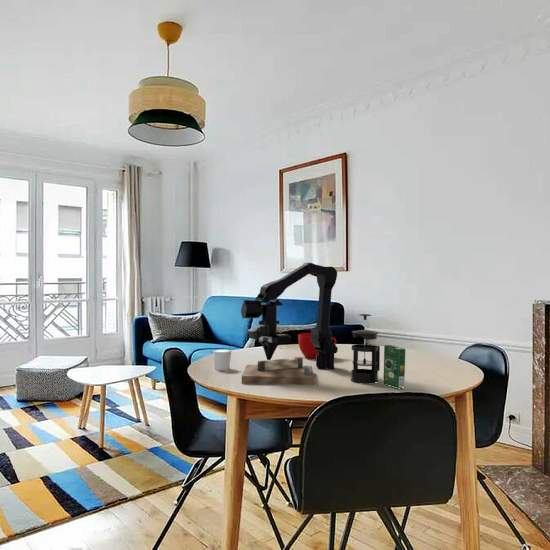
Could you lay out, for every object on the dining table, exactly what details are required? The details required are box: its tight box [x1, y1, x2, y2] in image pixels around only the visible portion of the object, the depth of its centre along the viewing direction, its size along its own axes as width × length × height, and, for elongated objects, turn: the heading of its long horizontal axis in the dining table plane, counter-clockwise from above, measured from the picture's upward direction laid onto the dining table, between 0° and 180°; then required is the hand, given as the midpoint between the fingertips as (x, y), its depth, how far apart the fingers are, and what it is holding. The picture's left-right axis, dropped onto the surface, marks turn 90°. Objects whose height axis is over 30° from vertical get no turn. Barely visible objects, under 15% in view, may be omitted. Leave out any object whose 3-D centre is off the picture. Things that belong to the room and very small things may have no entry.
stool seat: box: [241, 364, 315, 386], centre depth 165 cm, size 24×20×4 cm
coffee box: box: [383, 344, 406, 388], centre depth 153 cm, size 8×3×13 cm, turn 23°
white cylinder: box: [212, 349, 232, 371], centre depth 179 cm, size 7×7×7 cm
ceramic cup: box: [297, 332, 337, 360], centre depth 208 cm, size 13×17×10 cm
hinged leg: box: [257, 356, 304, 371], centre depth 168 cm, size 18×3×3 cm, turn 118°
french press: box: [350, 313, 381, 385], centre depth 162 cm, size 12×9×23 cm
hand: (268, 359), depth 174 cm, fingers closed
